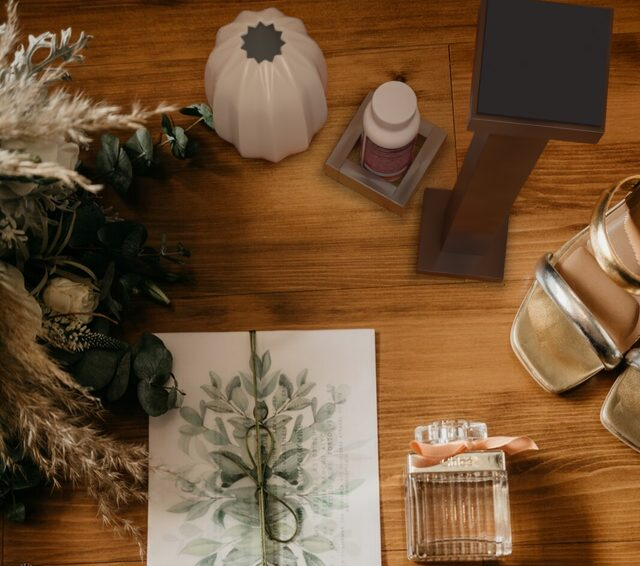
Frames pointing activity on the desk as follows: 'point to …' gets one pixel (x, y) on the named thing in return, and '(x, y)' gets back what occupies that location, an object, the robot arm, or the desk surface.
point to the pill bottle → (389, 131)
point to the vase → (266, 85)
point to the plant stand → (489, 182)
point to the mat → (544, 62)
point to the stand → (373, 185)
